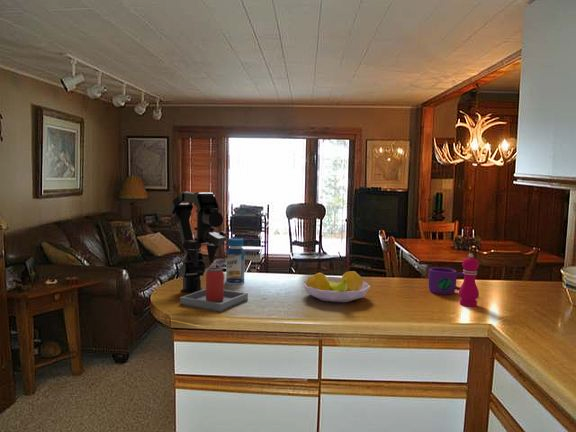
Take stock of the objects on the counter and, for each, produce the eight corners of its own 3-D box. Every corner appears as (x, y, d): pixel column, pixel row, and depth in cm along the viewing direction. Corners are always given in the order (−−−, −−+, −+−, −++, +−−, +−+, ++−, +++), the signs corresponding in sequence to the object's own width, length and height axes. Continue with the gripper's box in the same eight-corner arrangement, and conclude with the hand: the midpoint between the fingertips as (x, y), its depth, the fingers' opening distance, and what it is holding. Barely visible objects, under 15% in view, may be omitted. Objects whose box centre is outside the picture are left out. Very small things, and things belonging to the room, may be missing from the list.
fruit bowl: (307, 288, 195) (307, 262, 194) (370, 293, 189) (371, 266, 188) (294, 305, 167) (295, 275, 166) (368, 311, 162) (370, 280, 161)
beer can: (219, 303, 165) (220, 271, 164) (203, 302, 166) (203, 270, 165) (225, 299, 171) (226, 268, 170) (209, 297, 173) (210, 266, 172)
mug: (430, 295, 188) (431, 271, 187) (425, 288, 199) (426, 266, 198) (473, 297, 186) (475, 273, 185) (466, 290, 197) (467, 268, 196)
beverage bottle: (248, 283, 202) (249, 239, 200) (233, 286, 195) (234, 240, 194) (236, 280, 207) (237, 237, 206) (221, 282, 201) (222, 238, 200)
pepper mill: (477, 303, 176) (480, 252, 175) (478, 308, 170) (481, 255, 168) (457, 301, 179) (460, 251, 177) (458, 305, 172) (461, 254, 171)
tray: (179, 304, 165) (180, 297, 164) (209, 294, 181) (209, 287, 181) (220, 311, 157) (220, 304, 157) (247, 300, 173) (247, 293, 173)
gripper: (205, 228, 161) (204, 271, 162) (235, 224, 177) (234, 263, 178) (181, 226, 166) (181, 267, 167) (213, 222, 182) (212, 260, 184)
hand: (203, 264), depth 174 cm, fingers open, 9 cm apart
